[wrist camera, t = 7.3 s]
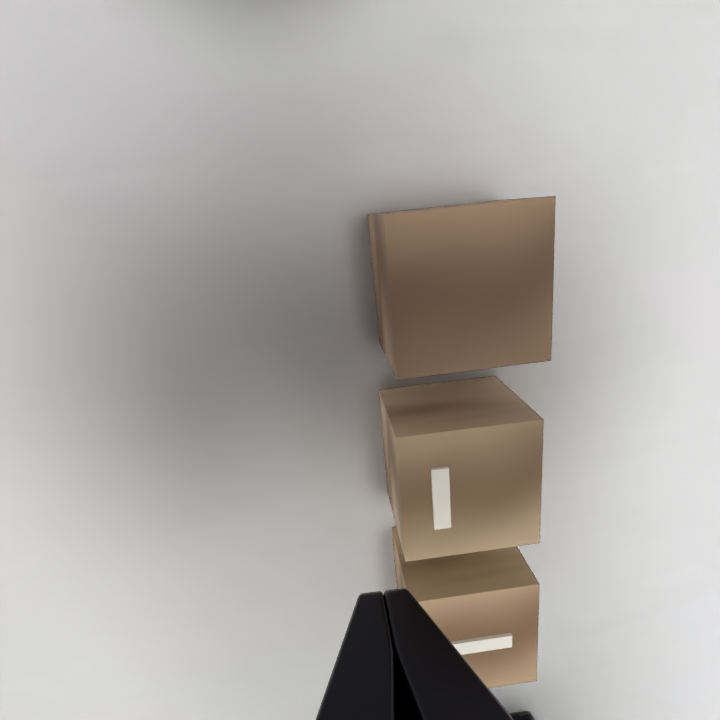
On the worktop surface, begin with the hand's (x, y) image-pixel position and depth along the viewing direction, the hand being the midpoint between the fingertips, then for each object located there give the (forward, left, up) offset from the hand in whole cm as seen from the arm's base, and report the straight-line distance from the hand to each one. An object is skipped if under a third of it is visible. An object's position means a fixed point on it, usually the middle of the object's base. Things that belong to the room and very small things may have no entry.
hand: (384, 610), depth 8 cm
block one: (-10, -4, -12) cm, 16 cm away
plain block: (+4, -4, -12) cm, 13 cm away
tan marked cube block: (-3, -4, -12) cm, 13 cm away
